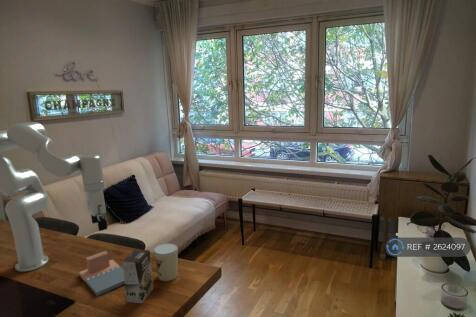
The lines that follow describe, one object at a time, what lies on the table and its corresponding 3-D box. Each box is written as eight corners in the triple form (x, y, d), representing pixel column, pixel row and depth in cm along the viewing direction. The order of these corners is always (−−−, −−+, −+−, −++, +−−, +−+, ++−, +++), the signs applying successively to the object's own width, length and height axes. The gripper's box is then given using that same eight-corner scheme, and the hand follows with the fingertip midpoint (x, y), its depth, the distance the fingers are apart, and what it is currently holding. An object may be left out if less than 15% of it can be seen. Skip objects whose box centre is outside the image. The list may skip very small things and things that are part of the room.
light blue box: (85, 283, 130) (85, 279, 130) (120, 269, 139) (119, 265, 139) (96, 296, 121) (96, 292, 121) (132, 280, 131) (132, 276, 130)
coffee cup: (154, 272, 136) (151, 246, 133) (176, 267, 139) (174, 241, 137) (158, 284, 128) (155, 256, 125) (182, 278, 131) (179, 250, 128)
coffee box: (142, 303, 116) (138, 262, 113) (126, 302, 118) (121, 261, 114) (154, 288, 125) (150, 249, 122) (138, 287, 126) (134, 248, 123)
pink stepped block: (79, 275, 136) (76, 258, 134) (112, 262, 145) (110, 246, 143) (85, 282, 130) (82, 265, 129) (119, 268, 140) (117, 252, 138)
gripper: (78, 183, 135) (84, 222, 138) (89, 193, 121) (95, 235, 125) (97, 179, 139) (103, 217, 143) (110, 188, 126) (115, 230, 129)
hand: (99, 226), depth 134 cm, fingers open, 9 cm apart
